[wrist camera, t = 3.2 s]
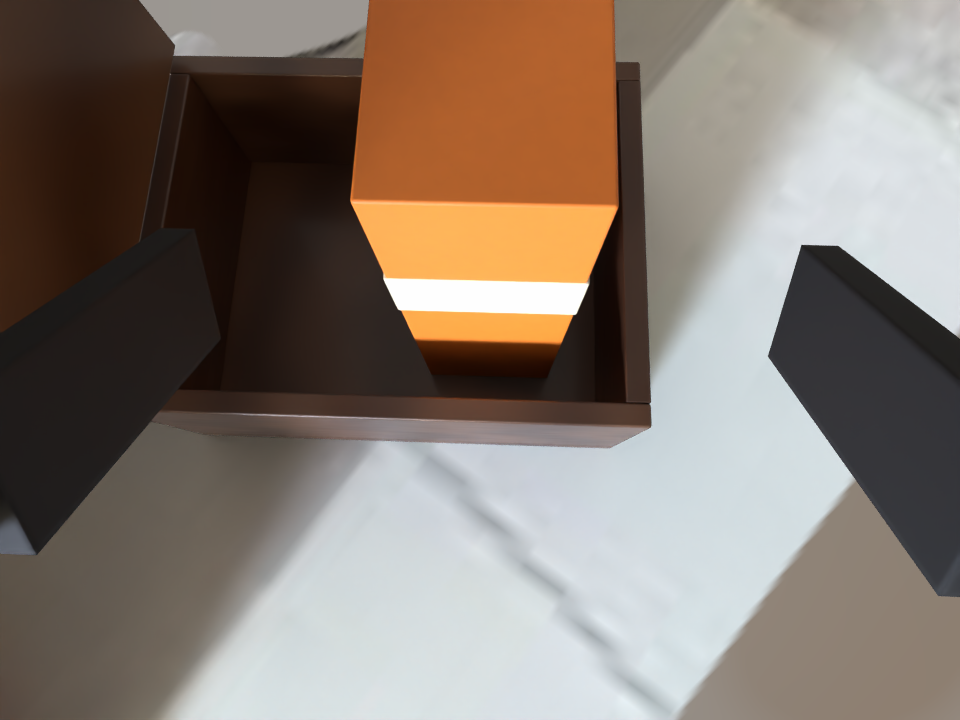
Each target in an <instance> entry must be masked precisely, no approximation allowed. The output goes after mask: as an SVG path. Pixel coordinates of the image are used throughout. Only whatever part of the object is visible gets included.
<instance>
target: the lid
mask: <svg viewBox="0 0 960 720" xmlns="http://www.w3.org/2000/svg"><path fill="white" fill-rule="evenodd" d="M174 49H175V45H174V43H173V42H172V41H171V40H170V38H169V37H168V36H167V35H166V34H165V32H164V31H163V30H162V29H161V27H160V26H159V25H158V24H157V22H156V21H155V20H154V19H153V17H152V16H151V15H150V14H149V12H148V11H147V10H146V9H145V7H144V6H143V5H142V4H141V2H140V1H139V0H0V333H2V332H3V331H5V330H6V329H8V328H9V327H11V326H12V325H14V324H15V323H17V322H18V321H20V320H21V319H23V318H24V317H26V316H27V315H29V314H30V313H32V312H34V311H35V310H37V309H38V308H40V307H41V306H43V305H44V304H46V303H47V302H49V301H50V300H52V299H53V298H55V297H56V296H58V295H59V294H61V293H62V292H64V291H65V290H67V289H69V288H70V287H72V286H73V285H75V284H76V283H78V282H79V281H81V280H82V279H84V278H85V277H87V276H88V275H90V274H91V273H93V272H94V271H96V270H97V269H99V268H101V267H102V266H104V265H105V264H107V263H108V262H110V261H111V260H113V259H114V258H116V257H117V256H119V255H120V254H122V253H123V252H125V251H126V250H128V249H129V248H131V247H132V246H134V245H136V244H137V243H139V240H140V235H141V229H142V224H143V218H144V213H145V208H146V202H147V197H148V191H149V186H150V180H151V175H152V169H153V164H154V158H155V153H156V148H157V142H158V137H159V131H160V126H161V120H162V115H163V109H164V104H165V98H166V93H167V88H168V82H169V77H170V71H171V66H172V60H173V55H174Z"/></svg>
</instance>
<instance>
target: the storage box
mask: <svg viewBox="0 0 960 720" xmlns="http://www.w3.org/2000/svg"><path fill="white" fill-rule="evenodd" d="M363 61H364V59H362V58H292V57H222V56H173V60H172V66H171V71H170V74H171V75H170V77H169V82H168V88H167V93H166V98H165V104H164V109H163V115H162V120H161V126H160V131H159V137H158V142H157V148H156V153H155V158H154V164H153V169H152V175H151V180H150V186H149V191H148V197H147V202H146V208H145V213H144V218H143V224H142V229H141V235H140V240H139V242H140V241H142V240H143V239H145V238H146V237H148V236H149V235H151V234H152V233H154V232H155V231H157V230H158V229H160V228H174V229H195V233H196V237H197V241H198V245H199V249H200V253H201V258H202V262H203V266H204V270H205V274H206V278H207V282H208V286H209V290H210V295H211V299H212V303H213V307H214V311H215V315H216V319H217V323H218V328H219V332H220V336H221V339H220V341H219V342H218V343H217V344H216V345H215V346H214V348H213V349H212V350H211V351H210V352H209V354H208V355H207V356H206V357H205V358H204V359H203V361H202V362H201V363H200V364H199V365H198V366H197V368H196V369H195V370H194V371H193V372H192V373H191V375H190V376H189V377H188V378H187V379H186V381H185V382H184V383H183V384H182V385H181V386H180V388H179V389H178V390H177V391H176V392H175V393H174V395H173V396H172V397H171V398H170V399H169V400H168V402H167V403H166V404H165V405H164V406H163V408H162V409H161V410H160V411H159V412H158V413H157V415H156V416H155V417H154V418H153V419H152V420H151V421H152V422H156V423H160V424H164V425H168V426H172V427H176V428H180V429H184V430H188V431H192V432H196V433H200V434H204V435H222V436H253V437H283V438H314V439H344V440H375V441H405V442H435V443H466V444H496V445H527V446H557V447H588V448H611V447H613V446H615V445H617V444H619V443H621V442H623V441H625V440H627V439H629V438H631V437H633V436H635V435H637V434H639V433H641V432H643V431H645V430H647V429H649V428H651V406H650V403H651V388H650V358H649V328H648V298H647V267H646V237H645V207H644V177H643V146H642V116H641V86H640V64H639V63H638V62H616V107H617V152H618V198H619V207H618V209H617V211H616V214H615V216H614V219H613V221H612V223H611V226H610V228H609V231H608V233H607V235H606V238H605V240H604V243H603V245H602V247H601V250H600V252H599V255H598V257H597V259H596V262H595V264H594V267H593V269H592V271H591V274H590V276H589V279H590V284H589V286H588V288H587V291H586V293H585V295H584V298H583V300H582V302H581V305H580V307H579V309H578V312H577V314H575V315H573V317H572V319H571V322H570V324H569V327H568V329H567V331H566V334H565V336H564V339H563V341H562V343H561V346H560V348H559V351H558V353H557V355H556V358H555V360H554V363H553V365H552V367H551V370H550V372H549V375H548V377H547V378H530V377H496V376H462V375H432V374H431V373H430V371H429V369H428V366H427V364H426V362H425V360H424V358H423V356H422V354H421V351H420V349H419V347H418V345H417V343H416V341H415V339H414V336H413V334H412V332H411V330H410V328H409V326H408V324H407V321H406V319H405V317H404V315H403V313H402V311H401V310H398V308H397V306H396V304H395V302H394V300H393V298H392V296H391V294H390V292H389V290H388V288H387V285H386V283H385V281H384V279H383V276H384V272H383V270H382V268H381V266H380V264H379V262H378V259H377V257H376V255H375V253H374V251H373V249H372V247H371V244H370V242H369V240H368V238H367V236H366V234H365V232H364V229H363V227H362V225H361V223H360V221H359V219H358V217H357V214H356V212H355V210H354V208H353V206H352V204H351V201H350V198H351V188H352V177H353V167H354V156H355V146H356V135H357V125H358V114H359V104H360V93H361V82H362V72H363Z"/></svg>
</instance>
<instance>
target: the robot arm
mask: <svg viewBox="0 0 960 720" xmlns="http://www.w3.org/2000/svg"><path fill="white" fill-rule="evenodd" d="M220 339H221V336H220V332H219V328H218V323H217V319H216V315H215V311H214V307H213V303H212V299H211V295H210V290H209V286H208V282H207V278H206V274H205V270H204V266H203V262H202V258H201V253H200V249H199V245H198V241H197V237H196V233H195V229H174V228H160V229H158V230H157V231H155V232H154V233H152V234H151V235H149V236H148V237H146V238H145V239H143V240H142V241H140V242H139V243H137V244H136V245H134V246H132V247H131V248H129V249H128V250H126V251H125V252H123V253H122V254H120V255H119V256H117V257H116V258H114V259H113V260H111V261H110V262H108V263H107V264H105V265H104V266H102V267H101V268H99V269H97V270H96V271H94V272H93V273H91V274H90V275H88V276H87V277H85V278H84V279H82V280H81V281H79V282H78V283H76V284H75V285H73V286H72V287H70V288H69V289H67V290H65V291H64V292H62V293H61V294H59V295H58V296H56V297H55V298H53V299H52V300H50V301H49V302H47V303H46V304H44V305H43V306H41V307H40V308H38V309H37V310H35V311H34V312H32V313H30V314H29V315H27V316H26V317H24V318H23V319H21V320H20V321H18V322H17V323H15V324H14V325H12V326H11V327H9V328H8V329H6V330H5V331H3V332H2V333H0V553H2V554H24V555H37V554H38V553H39V552H40V551H41V550H42V548H43V547H44V546H45V545H46V544H47V542H48V541H49V540H50V539H51V538H52V537H53V535H54V534H55V533H56V532H57V531H58V530H59V528H60V527H61V526H62V525H63V524H64V523H65V521H66V520H67V519H68V518H69V517H70V515H71V514H72V513H73V512H74V511H75V510H76V508H77V507H78V506H79V505H80V504H81V503H82V501H83V500H84V499H85V498H86V497H87V496H88V494H89V493H90V492H91V491H92V490H93V488H94V487H95V486H96V485H97V484H98V483H99V481H100V480H101V479H102V478H103V477H104V476H105V474H106V473H107V472H108V471H109V470H110V469H111V467H112V466H113V465H114V464H115V463H116V461H117V460H118V459H119V458H120V457H121V456H122V454H123V453H124V452H125V451H126V450H127V449H128V447H129V446H130V445H131V444H132V443H133V442H134V440H135V439H136V438H137V437H138V436H139V434H140V433H141V432H142V431H143V430H144V429H145V427H146V426H147V425H148V424H149V423H150V422H151V420H152V419H153V418H154V417H155V416H156V415H157V413H158V412H159V411H160V410H161V409H162V408H163V406H164V405H165V404H166V403H167V402H168V400H169V399H170V398H171V397H172V396H173V395H174V393H175V392H176V391H177V390H178V389H179V388H180V386H181V385H182V384H183V383H184V382H185V381H186V379H187V378H188V377H189V376H190V375H191V373H192V372H193V371H194V370H195V369H196V368H197V366H198V365H199V364H200V363H201V362H202V361H203V359H204V358H205V357H206V356H207V355H208V354H209V352H210V351H211V350H212V349H213V348H214V346H215V345H216V344H217V343H218V342H219V341H220ZM768 357H769V359H770V360H771V361H772V363H773V364H774V366H775V367H776V368H777V370H778V371H779V373H780V374H781V375H782V377H783V378H784V380H785V381H786V382H787V384H788V385H789V387H790V388H791V389H792V391H793V392H794V394H795V395H796V397H797V398H798V399H799V401H800V402H801V404H802V405H803V406H804V408H805V409H806V411H807V412H808V413H809V415H810V416H811V418H812V419H813V420H814V422H815V423H816V425H817V426H818V427H819V429H820V430H821V432H822V433H823V434H824V436H825V437H826V439H827V440H828V442H829V443H830V444H831V446H832V447H833V449H834V450H835V451H836V453H837V454H838V456H839V457H840V458H841V460H842V461H843V463H844V464H845V465H846V467H847V468H848V470H849V471H850V472H851V474H852V475H853V477H854V478H855V479H856V481H857V482H858V484H859V485H860V486H861V488H862V489H863V491H864V492H865V494H866V495H867V496H868V498H869V499H870V501H872V503H873V505H874V506H875V508H876V509H877V510H878V512H879V513H880V515H881V516H882V517H883V519H884V520H885V521H886V523H887V524H888V526H889V527H890V529H891V530H892V531H893V533H894V534H895V536H896V537H897V538H898V540H899V541H900V543H901V544H902V546H903V547H904V548H905V550H906V551H907V553H908V554H909V555H910V557H911V558H912V560H913V561H914V562H915V564H916V565H917V567H918V568H919V569H920V571H921V572H922V574H923V575H924V576H925V577H926V579H927V581H928V582H929V583H930V585H931V586H932V588H933V589H934V591H935V592H936V593H937V595H938V596H950V597H960V339H959V338H958V337H957V336H956V335H954V334H953V333H952V332H950V331H949V330H948V329H946V328H945V327H944V326H942V325H941V324H940V323H938V322H937V321H936V320H935V319H933V318H932V317H931V316H929V315H928V314H927V313H925V312H924V311H923V310H921V309H920V308H919V307H918V306H916V305H915V304H914V303H912V302H911V301H910V300H908V299H907V298H906V297H904V296H903V295H902V294H901V293H899V292H898V291H897V290H895V289H894V288H893V287H891V286H890V285H889V284H887V283H886V282H885V281H884V280H882V279H881V278H880V277H878V276H877V275H876V274H874V273H873V272H872V271H870V270H869V269H868V268H866V267H865V266H864V265H863V264H861V263H860V262H859V261H857V260H856V259H855V258H853V257H852V256H851V255H849V254H848V253H847V252H846V251H844V250H843V249H842V248H840V247H839V246H819V245H801V249H800V252H799V255H798V259H797V262H796V265H795V269H794V272H793V275H792V279H791V282H790V285H789V289H788V292H787V295H786V298H785V302H784V305H783V308H782V312H781V315H780V318H779V322H778V325H777V328H776V332H775V335H774V338H773V341H772V345H771V348H770V351H769V355H768Z"/></svg>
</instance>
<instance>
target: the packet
mask: <svg viewBox="0 0 960 720" xmlns="http://www.w3.org/2000/svg"><path fill="white" fill-rule="evenodd" d="M350 201H351V204H352V206H353V208H354V210H355V212H356V214H357V217H358V219H359V221H360V223H361V225H362V227H363V229H364V232H365V234H366V236H367V238H368V240H369V242H370V244H371V247H372V249H373V251H374V253H375V255H376V257H377V259H378V262H379V264H380V266H381V268H382V270H383V272H384V276H383V279H384V281H385V283H386V285H387V288H388V290H389V292H390V294H391V296H392V298H393V300H394V302H395V304H396V306H397V308H398V310H401V311H402V313H403V315H404V317H405V319H406V321H407V324H408V326H409V328H410V330H411V332H412V334H413V336H414V339H415V341H416V343H417V345H418V347H419V349H420V351H421V354H422V356H423V358H424V360H425V362H426V364H427V366H428V369H429V371H430V373H431V374H432V375H462V376H496V377H530V378H547V377H548V375H549V372H550V370H551V367H552V365H553V363H554V360H555V358H556V355H557V353H558V351H559V348H560V346H561V343H562V341H563V339H564V336H565V334H566V331H567V329H568V327H569V324H570V322H571V319H572V317H573V315H575V314H577V312H578V309H579V307H580V305H581V302H582V300H583V298H584V295H585V293H586V291H587V288H588V286H589V284H590V279H589V276H590V274H591V271H592V269H593V267H594V264H595V262H596V259H597V257H598V255H599V252H600V250H601V247H602V245H603V243H604V240H605V238H606V235H607V233H608V231H609V228H610V226H611V223H612V221H613V219H614V216H615V214H616V211H617V209H618V207H619V198H618V152H617V107H616V61H615V15H614V0H369V9H368V20H367V30H366V40H365V51H364V61H363V72H362V82H361V93H360V104H359V114H358V125H357V135H356V146H355V156H354V167H353V177H352V188H351V198H350Z"/></svg>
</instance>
